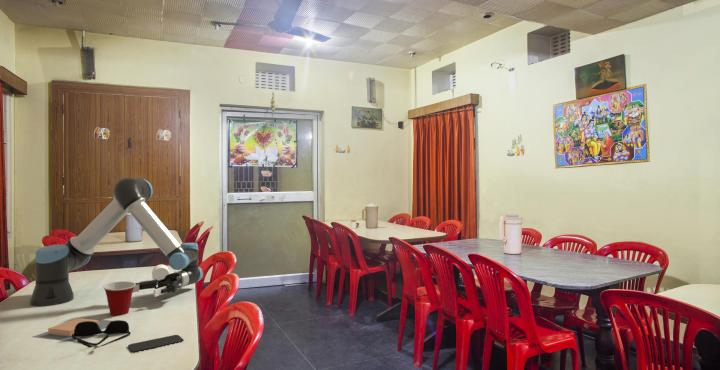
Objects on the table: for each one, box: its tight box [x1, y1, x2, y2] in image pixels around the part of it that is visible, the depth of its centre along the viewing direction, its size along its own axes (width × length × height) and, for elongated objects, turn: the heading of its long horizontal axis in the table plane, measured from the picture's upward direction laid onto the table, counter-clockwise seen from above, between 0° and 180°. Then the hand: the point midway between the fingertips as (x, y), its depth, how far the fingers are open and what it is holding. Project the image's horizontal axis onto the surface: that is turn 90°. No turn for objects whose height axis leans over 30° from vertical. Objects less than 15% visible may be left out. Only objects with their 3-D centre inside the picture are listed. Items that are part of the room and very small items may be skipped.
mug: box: [151, 264, 178, 280], centre depth 222 cm, size 12×10×8 cm
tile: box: [47, 317, 99, 337], centre depth 144 cm, size 9×2×11 cm
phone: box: [127, 334, 184, 354], centre depth 134 cm, size 7×1×15 cm
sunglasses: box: [72, 319, 131, 348], centre depth 134 cm, size 17×14×5 cm
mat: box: [32, 317, 112, 343], centre depth 146 cm, size 16×20×1 cm
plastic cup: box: [102, 280, 136, 317], centre depth 164 cm, size 11×11×12 cm
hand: (140, 292), depth 173 cm, fingers open, 13 cm apart
